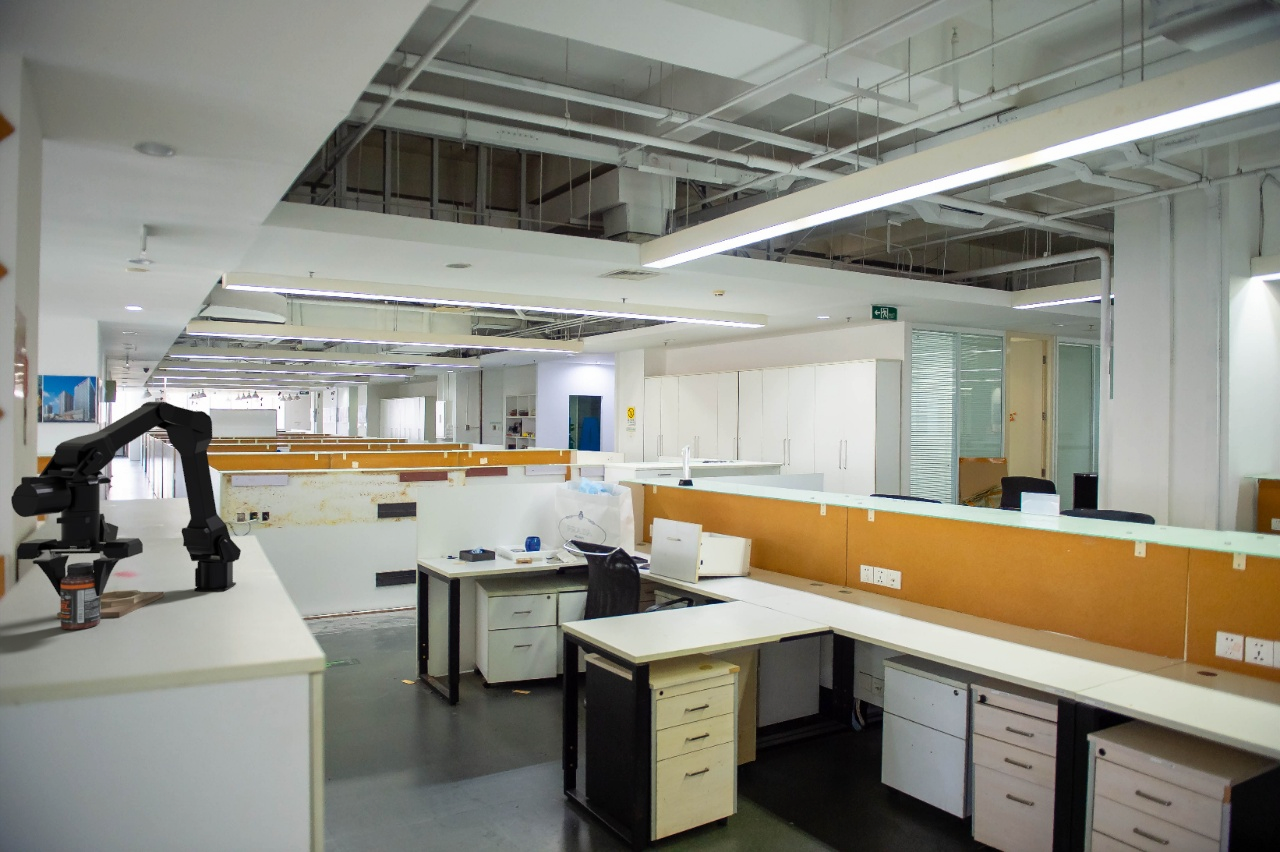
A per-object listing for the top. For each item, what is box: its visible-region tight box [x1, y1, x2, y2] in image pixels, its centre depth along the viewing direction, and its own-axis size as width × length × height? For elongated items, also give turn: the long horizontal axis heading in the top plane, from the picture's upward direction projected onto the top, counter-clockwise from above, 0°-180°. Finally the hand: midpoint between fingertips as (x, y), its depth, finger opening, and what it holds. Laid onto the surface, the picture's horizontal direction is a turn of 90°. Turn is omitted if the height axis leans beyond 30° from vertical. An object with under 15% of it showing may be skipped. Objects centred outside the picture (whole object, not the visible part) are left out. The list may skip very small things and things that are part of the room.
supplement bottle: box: [60, 561, 101, 631], centre depth 142 cm, size 6×6×11 cm
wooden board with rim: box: [56, 589, 165, 619], centre depth 157 cm, size 11×17×2 cm, turn 6°
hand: (80, 595), depth 143 cm, fingers closed on supplement bottle, 6 cm apart
